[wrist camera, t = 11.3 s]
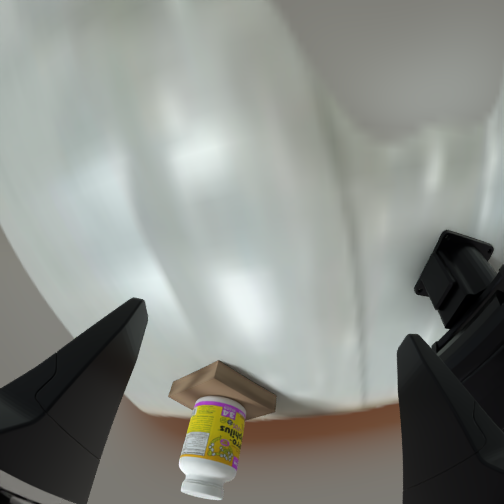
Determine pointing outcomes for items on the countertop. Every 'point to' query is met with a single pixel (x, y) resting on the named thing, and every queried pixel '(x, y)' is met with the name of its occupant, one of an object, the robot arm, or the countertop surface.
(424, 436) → the robot arm
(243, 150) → the countertop surface
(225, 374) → the walnut pedestal
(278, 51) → the countertop surface
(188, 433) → the supplement bottle
